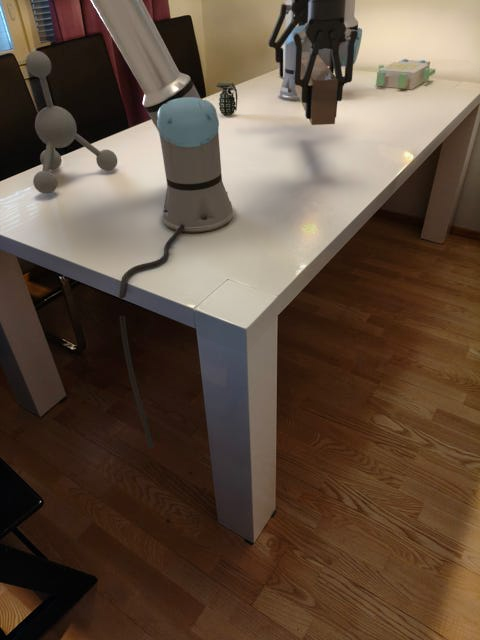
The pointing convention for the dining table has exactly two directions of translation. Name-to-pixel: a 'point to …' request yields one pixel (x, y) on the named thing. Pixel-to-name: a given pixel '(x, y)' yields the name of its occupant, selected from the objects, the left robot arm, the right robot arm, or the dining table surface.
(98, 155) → the molecular model
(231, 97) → the grenade
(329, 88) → the bar
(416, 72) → the grey box with connectors
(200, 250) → the dining table surface
